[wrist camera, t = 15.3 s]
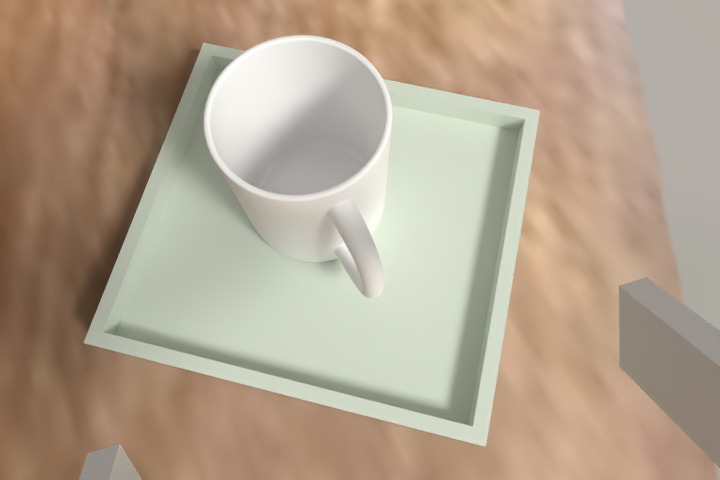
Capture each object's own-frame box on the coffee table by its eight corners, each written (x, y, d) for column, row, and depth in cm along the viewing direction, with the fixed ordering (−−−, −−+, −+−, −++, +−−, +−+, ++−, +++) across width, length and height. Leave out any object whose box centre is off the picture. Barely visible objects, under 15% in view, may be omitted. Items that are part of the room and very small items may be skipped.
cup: (348, 121, 35) (341, 8, 25) (438, 281, 31) (471, 222, 22) (230, 174, 34) (175, 77, 24) (311, 346, 30) (285, 314, 21)
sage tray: (104, 348, 31) (83, 342, 29) (214, 66, 37) (203, 42, 35) (476, 444, 29) (485, 446, 27) (528, 130, 35) (540, 110, 33)
